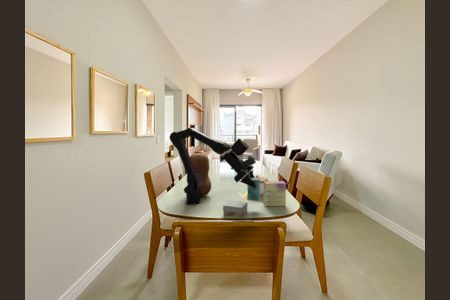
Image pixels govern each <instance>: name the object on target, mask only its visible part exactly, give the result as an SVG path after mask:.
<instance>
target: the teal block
mask: <svg viewBox="0 0 450 300" xmlns="http://www.w3.org/2000/svg"><path fill="white" fill-rule="evenodd" d="M250 178H251V177H250ZM251 179H252V181H253V182H254V184H255V185H256V187H255V188H254V187H251V186H249V185H248V187H247V201H255V202H256V201H257V202H258V201H259V200H260V197H261V195H260V178H251Z"/></svg>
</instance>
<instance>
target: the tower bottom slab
mask: <svg viewBox="0 0 450 300" xmlns="http://www.w3.org/2000/svg"><path fill="white" fill-rule="evenodd" d="M222 211H223V210H222ZM246 211H248V207H247V208H246V209H245V210H244V211H243V213H236V212H229V211H223V212H222V213H223V216H227V217H235V218H236V217H237V218H244V216H245V215H244V214H246V213H247V212H246Z"/></svg>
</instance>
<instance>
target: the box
mask: <svg viewBox="0 0 450 300" xmlns="http://www.w3.org/2000/svg"><path fill="white" fill-rule="evenodd" d="M286 194H287V183H286V182H285V181H284V180H274V181H273V180H271V181H270V180H268V181H264V193H263V194H262V195H263V204H264V206H265V207H286V206H287V205H286V203H287V202H286V200H287V199H286V197H287V195H286Z"/></svg>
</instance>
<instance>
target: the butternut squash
mask: <svg viewBox="0 0 450 300" xmlns="http://www.w3.org/2000/svg"><path fill="white" fill-rule="evenodd" d="M190 158H191V161H192V163H193V166H194V168H195V171H196V172H197V173H198V174H199V173H201V176H202V178H203V184H202V186H201V187H200V189H199V190H198V191H199V194H200V198H203V197H205V196H207V195H208V194H209V193H210V192H211V191H212V181H211V179H210V177H209V172H210V171H209V170H210V159H209V157H208V155H207V154H202V153H193V154H191V155H190Z"/></svg>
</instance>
